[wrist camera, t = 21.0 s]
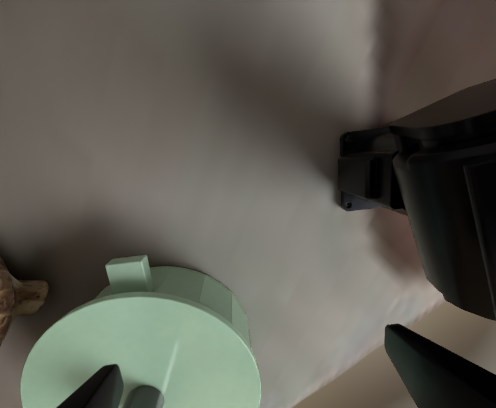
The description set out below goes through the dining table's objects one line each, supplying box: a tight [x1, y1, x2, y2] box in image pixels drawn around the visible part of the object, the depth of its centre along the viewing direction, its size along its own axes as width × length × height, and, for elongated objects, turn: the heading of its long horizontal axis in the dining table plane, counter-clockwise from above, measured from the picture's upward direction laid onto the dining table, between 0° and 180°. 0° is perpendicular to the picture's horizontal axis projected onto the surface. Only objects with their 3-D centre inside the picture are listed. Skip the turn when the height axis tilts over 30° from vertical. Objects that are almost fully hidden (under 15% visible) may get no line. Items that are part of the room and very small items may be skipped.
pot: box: [94, 255, 251, 347], centre depth 19 cm, size 15×21×5 cm
